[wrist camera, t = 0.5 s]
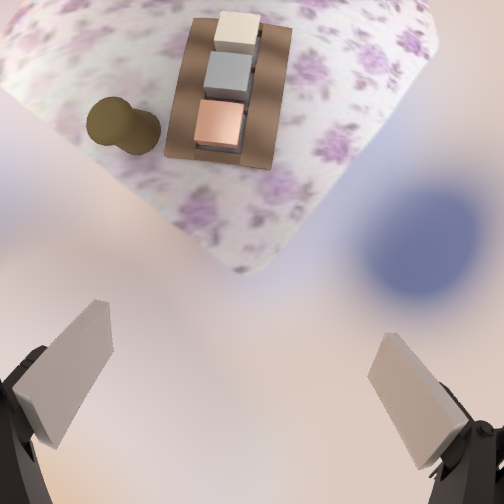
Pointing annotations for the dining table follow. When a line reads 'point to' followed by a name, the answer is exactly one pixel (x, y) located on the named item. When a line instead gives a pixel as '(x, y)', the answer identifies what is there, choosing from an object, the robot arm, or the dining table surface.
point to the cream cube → (237, 32)
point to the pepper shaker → (123, 126)
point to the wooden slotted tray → (259, 111)
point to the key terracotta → (219, 123)
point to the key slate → (228, 75)
